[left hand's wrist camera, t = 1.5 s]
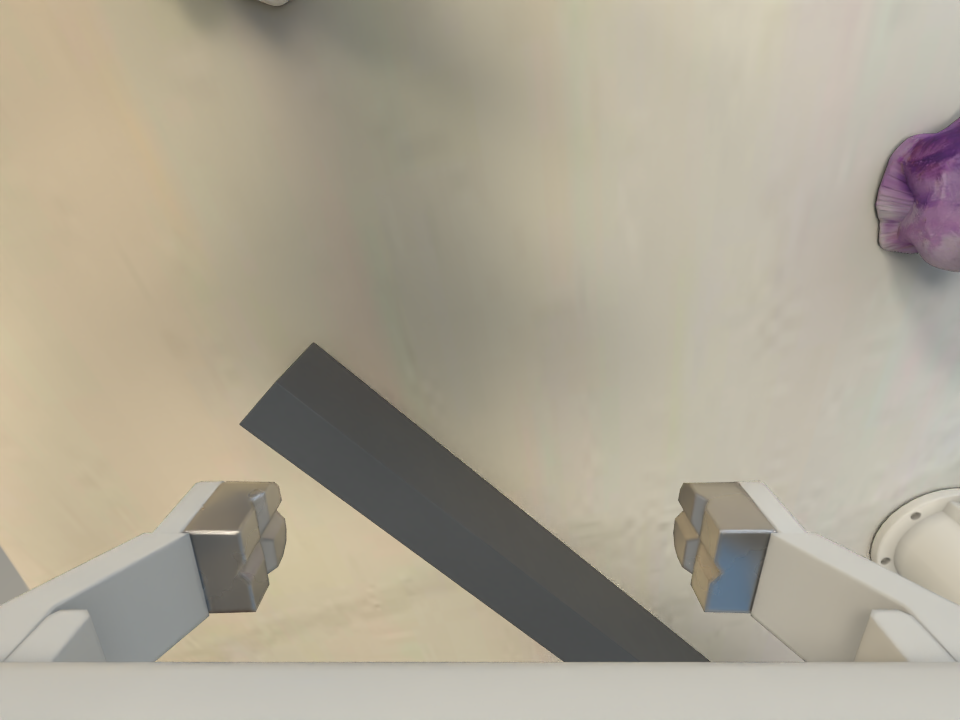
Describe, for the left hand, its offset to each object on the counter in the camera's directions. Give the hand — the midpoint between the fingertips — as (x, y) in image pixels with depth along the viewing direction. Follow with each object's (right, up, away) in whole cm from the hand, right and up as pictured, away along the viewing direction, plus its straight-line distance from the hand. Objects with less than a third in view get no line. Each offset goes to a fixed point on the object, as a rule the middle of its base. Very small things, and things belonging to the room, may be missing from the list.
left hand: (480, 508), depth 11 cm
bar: (+13, -23, +45) cm, 52 cm away
